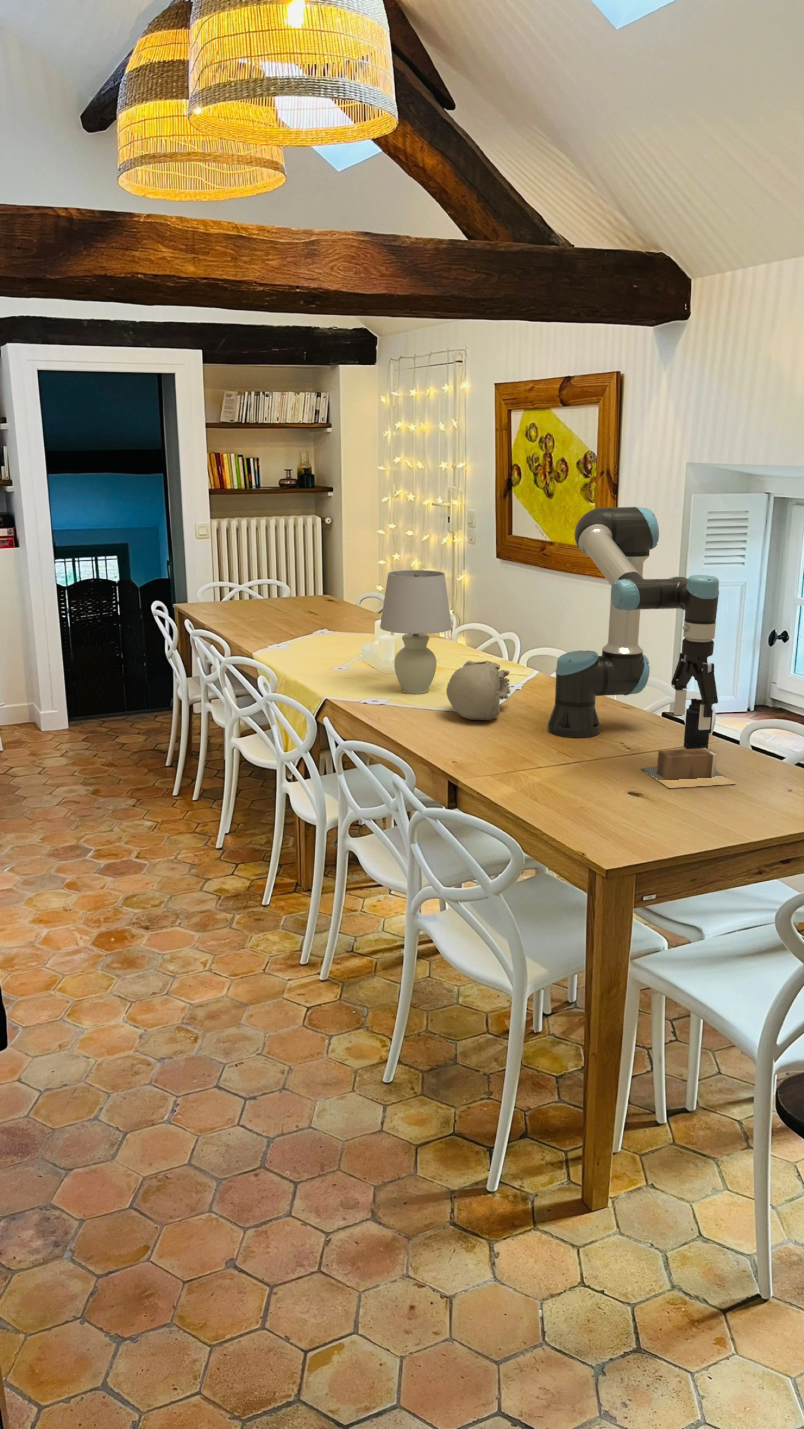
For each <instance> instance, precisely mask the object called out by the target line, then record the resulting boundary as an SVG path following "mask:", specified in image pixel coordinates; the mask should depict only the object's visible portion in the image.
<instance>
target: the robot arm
mask: <svg viewBox="0 0 804 1429" xmlns="http://www.w3.org/2000/svg"><path fill="white" fill-rule="evenodd" d="M573 535H574V542H575V544H576V546H577V548H578V549H579V550H580V552H581V554H583V555H585V556H587V557H589V558H590V559H591V560H592V562H593V563H594V565H595V566H596V567H597V569H598V570H599V571H600V573H601V574H602V575H603V577H604V578H605V579H606V581H607V582H608V584H609V585H610V600H609V601H610V602H609V604H610V605H609V618H608V635H607V636H608V638H607V643H606V644H605V646H603V647H602V649H601V651H602V652H601V655H598V652H596V651H593V650H574V651H573V650H572V651H569V652H565V653H563V654H562V655H560V656H559V657H558V658H557V661H556V669H555V694H554V695H555V696H554V697H555V698H554V706H553V708H552V711H551V715H550V716H549V720H548V722H547V731H548V732H549V733H550V734H552V735H555V736H558V737H559V736H560V737H564V738H565V737H566V738H575V739H576V738H577V739H578V738H591V737H595V736H598V735H599V734H600V731H601V723H600V720H599V717H598V713H597V709H596V699H597V698H596V697H599V696H622V695H623V696H629V695H636V694H639V693H641V692H642V691H644V690H643V689H645V688H646V686H647V684H648V681H649V676H650V670H651V669H650V665H649V664H650V662H649V659H648V657H647V656H646V655H645V654H643V653H644V649H643V648H642V647H640V645H639V636H640V635H639V634H640V633H639V632H640V618H641V610H670V609H672V610H673V609H674V610H675V609H680V610H683V611H684V619H683V620H684V622H683V626H682V630H683V634H682V635H683V636H682V637H684V638H683V639H682V642H681V643H682V644H681V652H679V657H678V663H677V665H676V668H675V671H674V674H673V676H672V679H671V685H672V686H674V689H675V694H674V706H673V715H674V716H686V705H687V704H686V702H687V693H688V691H687V690H688V684H689V682H690V681H691V679H692V678H693V679H694V681H696V682H697V686H698V690H699V694H700V698H701V699H702V702H701V703H700V715H699V726H698V729H699V730H708V729H710V722H711V711H712V710H713V705H715V704H718V703H719V699H718V698H719V697H718V692H717V685H716V684H717V683H716V678H715V664H714V663H711V662H710V663H709V661H708V658H709V657H711V656H713V654H714V646H715V642H714V639H715V636H716V627H717V626H716V625H717V622H716V621H717V614H718V613H717V612H718V603H719V596H720V590H719V589H720V588H719V586H720V580H719V578H718V577H717V576H713V575H709V574H695V575H693V574H692V575H690V576H689V577H685V576H671V577H669V578H654V579H653V578H647V579H646V578H644V576H643V575H644V574H643V573H644V562H645V561H646V560H647V559H648V558H649V557H650V552H651V551H650V550H653V549H655V548H656V547H657V546H658V542H659V538H660V529H659V523H658V519H657V517H656V514H655V513H654V512H653V511H652V510H651V508H650V509H649V508H647V507H640V506H639V507H638V506H626V507H625V506H624V507H619V506H618V507H605V506H604V507H597V508H596V507H595V508H593V509H591V510H588V511H586V512H585V514H583V515H582V516H581V517H580V518H579V520H578V522H577V523H576V525H575V528H574V534H573Z"/></svg>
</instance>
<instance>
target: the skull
mask: <svg viewBox="0 0 804 1429" xmlns="http://www.w3.org/2000/svg"><path fill="white" fill-rule="evenodd" d="M500 669H501V666H500V664H498V663H496V662H492V661H489V660H485V661H474V660H473V661H472V660H468V661H466V662H465V663H464V664H463V666H462V667H459V668H458V669H456V670H455V671H454V672H453V674H452V675H451V677H450V679H449V681H448V683H447V687H446V696H447V699H448V701H449V704H450V706H451V707H452V709H453V710H454V711H455V712H456V713H457V714H458V715H459V716H460V717H462V718H464V719H467V720H470V721H471V720H472V721H491V720H493V719H494V718H495V719H496V717H498V716H499V715H500V714H501V712H500V711H501V710H500V700H502V701H503V700H507V699H509V696H508V694H509V695H510V694H511V689H510V688H511V687H510V683H509V682H510V679H509V678H508V677H507V676H509V674H510V670H506V669H501V670H500ZM506 677H507V678H506Z"/></svg>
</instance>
